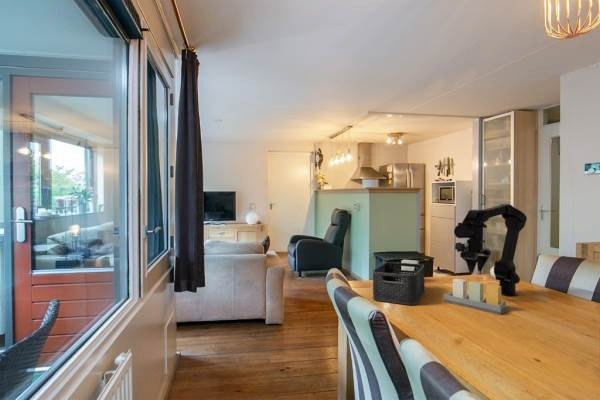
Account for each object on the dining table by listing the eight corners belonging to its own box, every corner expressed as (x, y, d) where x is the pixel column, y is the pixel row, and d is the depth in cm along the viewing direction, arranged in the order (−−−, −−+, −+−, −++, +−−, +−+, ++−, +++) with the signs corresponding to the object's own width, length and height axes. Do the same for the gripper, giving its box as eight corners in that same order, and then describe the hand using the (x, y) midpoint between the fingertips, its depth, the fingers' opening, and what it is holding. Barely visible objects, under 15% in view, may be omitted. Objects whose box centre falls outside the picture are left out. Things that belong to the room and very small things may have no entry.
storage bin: (386, 286, 180) (386, 260, 180) (425, 290, 171) (425, 263, 170) (371, 301, 154) (370, 271, 154) (415, 307, 145) (415, 275, 145)
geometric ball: (502, 284, 191) (512, 273, 188) (492, 280, 189) (502, 269, 185) (493, 274, 198) (503, 264, 195) (484, 271, 195) (493, 260, 192)
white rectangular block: (456, 296, 155) (456, 278, 155) (466, 298, 152) (466, 280, 152) (452, 297, 153) (452, 279, 153) (463, 299, 150) (462, 281, 149)
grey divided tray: (452, 298, 157) (452, 291, 157) (507, 310, 140) (507, 302, 140) (443, 301, 152) (443, 294, 152) (500, 314, 135) (500, 306, 135)
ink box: (419, 282, 187) (419, 260, 187) (417, 284, 183) (417, 261, 183) (403, 280, 191) (403, 259, 191) (401, 282, 187) (401, 260, 187)
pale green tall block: (472, 299, 150) (472, 281, 150) (483, 301, 146) (483, 283, 146) (468, 301, 148) (468, 282, 148) (479, 303, 144) (479, 284, 144)
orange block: (489, 303, 145) (489, 284, 145) (501, 305, 141) (501, 286, 141) (486, 304, 142) (486, 285, 142) (498, 307, 139) (497, 287, 139)
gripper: (466, 235, 167) (466, 267, 167) (448, 237, 155) (448, 271, 155) (491, 237, 159) (490, 270, 159) (474, 239, 146) (473, 276, 146)
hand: (475, 272), depth 155 cm, fingers open, 9 cm apart
